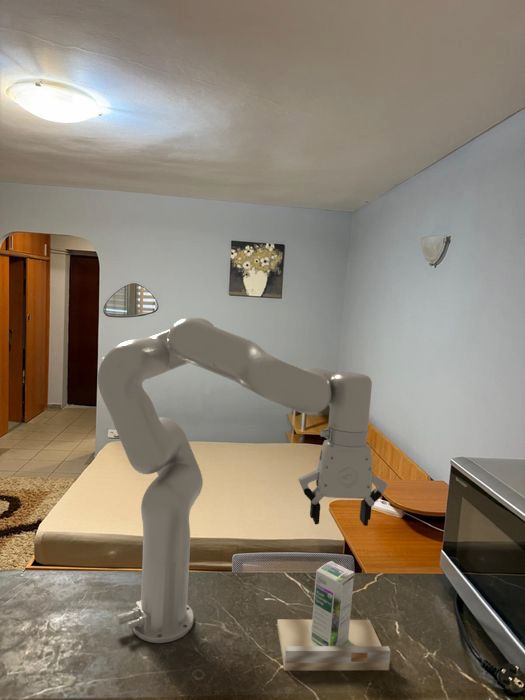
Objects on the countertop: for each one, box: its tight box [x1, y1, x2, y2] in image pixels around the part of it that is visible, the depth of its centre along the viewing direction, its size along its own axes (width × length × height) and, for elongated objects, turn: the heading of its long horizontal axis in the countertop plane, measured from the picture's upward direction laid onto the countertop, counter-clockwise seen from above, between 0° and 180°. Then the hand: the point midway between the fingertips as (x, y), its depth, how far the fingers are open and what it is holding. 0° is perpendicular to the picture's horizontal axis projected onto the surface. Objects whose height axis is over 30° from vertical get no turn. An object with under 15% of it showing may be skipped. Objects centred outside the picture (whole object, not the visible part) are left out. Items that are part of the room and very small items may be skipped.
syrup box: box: [311, 560, 355, 646], centre depth 91 cm, size 6×6×14 cm
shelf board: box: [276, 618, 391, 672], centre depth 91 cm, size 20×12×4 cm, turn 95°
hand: (339, 522), depth 89 cm, fingers open, 9 cm apart
